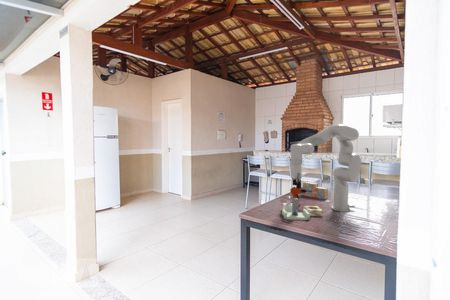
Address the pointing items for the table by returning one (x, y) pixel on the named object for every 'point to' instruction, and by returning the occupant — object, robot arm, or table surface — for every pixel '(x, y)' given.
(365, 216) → the table surface
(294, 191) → the toy drill
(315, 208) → the socket
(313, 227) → the table surface
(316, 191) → the stack of blocks
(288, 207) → the housing
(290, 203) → the grey ball-topped peg
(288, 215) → the tray
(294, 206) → the grey round peg
